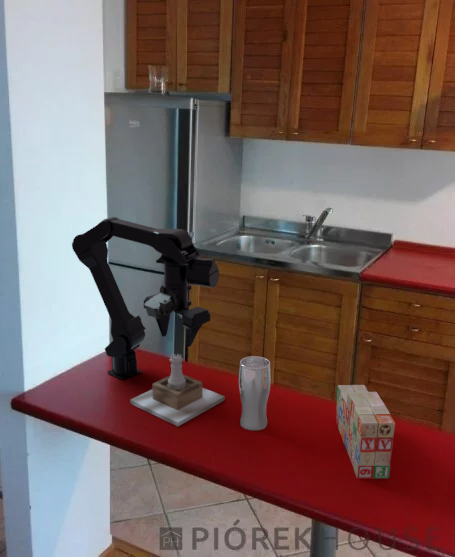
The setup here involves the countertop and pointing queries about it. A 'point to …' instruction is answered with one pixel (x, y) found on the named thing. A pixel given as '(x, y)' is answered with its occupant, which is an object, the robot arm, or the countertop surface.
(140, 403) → the board
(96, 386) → the countertop surface
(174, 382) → the rook chess piece
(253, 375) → the beer glass
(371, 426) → the stack of blocks
